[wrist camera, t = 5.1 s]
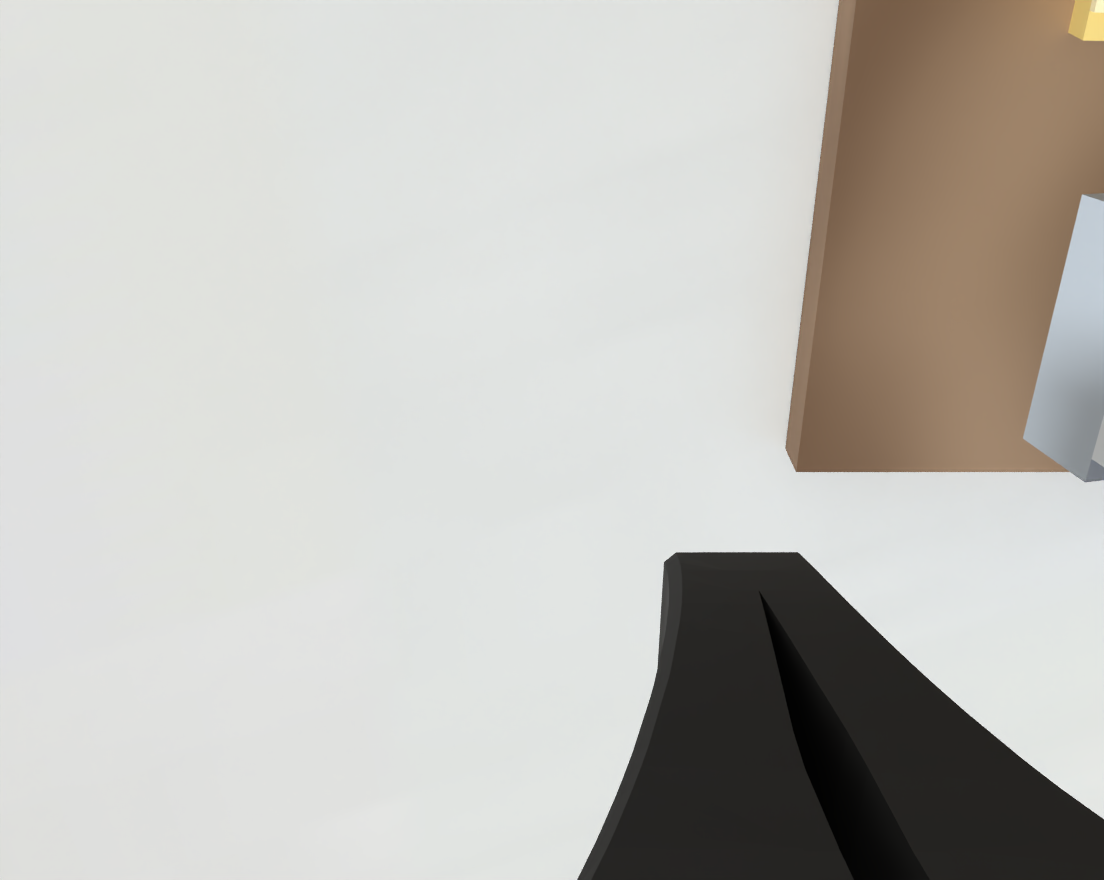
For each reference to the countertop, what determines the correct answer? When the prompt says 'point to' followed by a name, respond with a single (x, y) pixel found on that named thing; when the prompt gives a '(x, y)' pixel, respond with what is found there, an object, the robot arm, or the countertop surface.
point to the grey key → (1075, 356)
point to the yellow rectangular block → (1088, 20)
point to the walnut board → (941, 232)
